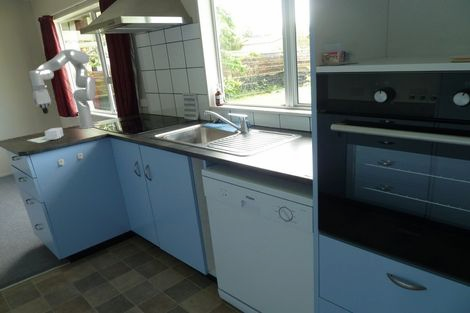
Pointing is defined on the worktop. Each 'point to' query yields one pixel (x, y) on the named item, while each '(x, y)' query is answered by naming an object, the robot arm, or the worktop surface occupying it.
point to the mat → (39, 139)
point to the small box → (53, 133)
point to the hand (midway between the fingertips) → (46, 113)
